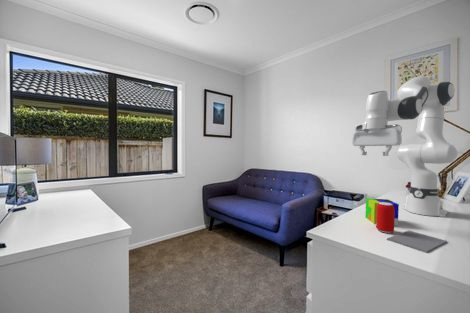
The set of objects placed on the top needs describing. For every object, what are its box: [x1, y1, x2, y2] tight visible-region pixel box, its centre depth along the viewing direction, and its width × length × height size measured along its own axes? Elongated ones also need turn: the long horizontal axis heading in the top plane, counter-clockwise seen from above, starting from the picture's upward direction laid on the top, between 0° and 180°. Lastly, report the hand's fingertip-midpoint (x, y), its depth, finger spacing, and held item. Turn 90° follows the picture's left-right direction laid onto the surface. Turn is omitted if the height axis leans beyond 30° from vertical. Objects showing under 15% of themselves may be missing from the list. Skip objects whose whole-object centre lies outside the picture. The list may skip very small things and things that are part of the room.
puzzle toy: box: [365, 198, 400, 226], centre depth 104 cm, size 10×10×10 cm
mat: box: [386, 230, 448, 254], centre depth 81 cm, size 18×12×1 cm, turn 119°
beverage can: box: [375, 202, 395, 234], centre depth 90 cm, size 6×6×12 cm
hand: (374, 155), depth 99 cm, fingers open, 8 cm apart
